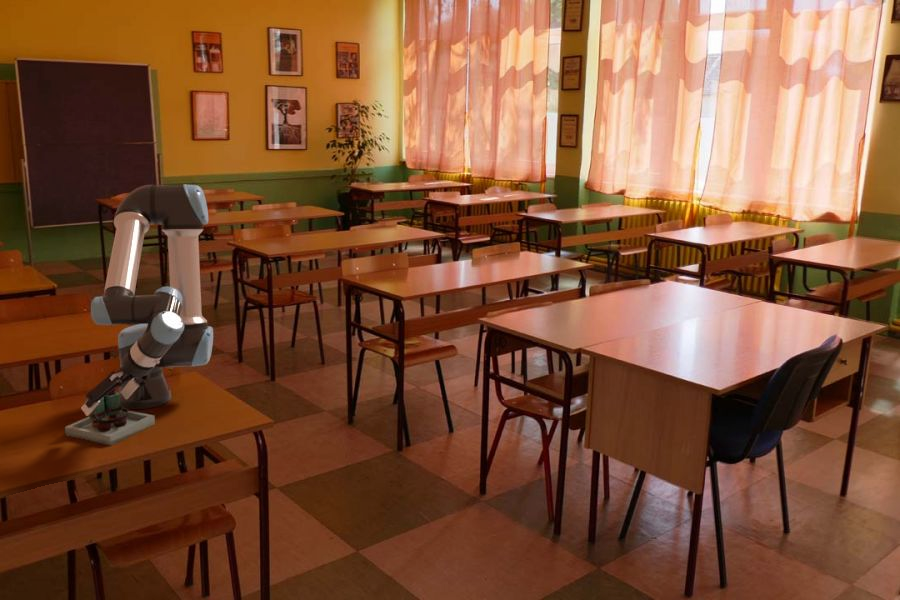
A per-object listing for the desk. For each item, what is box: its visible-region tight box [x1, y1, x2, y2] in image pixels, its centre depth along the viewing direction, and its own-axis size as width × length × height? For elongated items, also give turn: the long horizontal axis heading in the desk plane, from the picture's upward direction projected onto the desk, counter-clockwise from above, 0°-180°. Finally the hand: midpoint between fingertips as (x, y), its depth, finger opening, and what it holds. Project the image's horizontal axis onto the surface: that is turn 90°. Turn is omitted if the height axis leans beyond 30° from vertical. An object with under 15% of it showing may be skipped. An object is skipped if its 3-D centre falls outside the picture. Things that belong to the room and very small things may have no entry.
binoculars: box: [88, 388, 129, 431], centre depth 214 cm, size 9×11×10 cm
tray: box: [64, 410, 156, 446], centre depth 215 cm, size 16×16×2 cm
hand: (105, 403), depth 214 cm, fingers open, 13 cm apart
